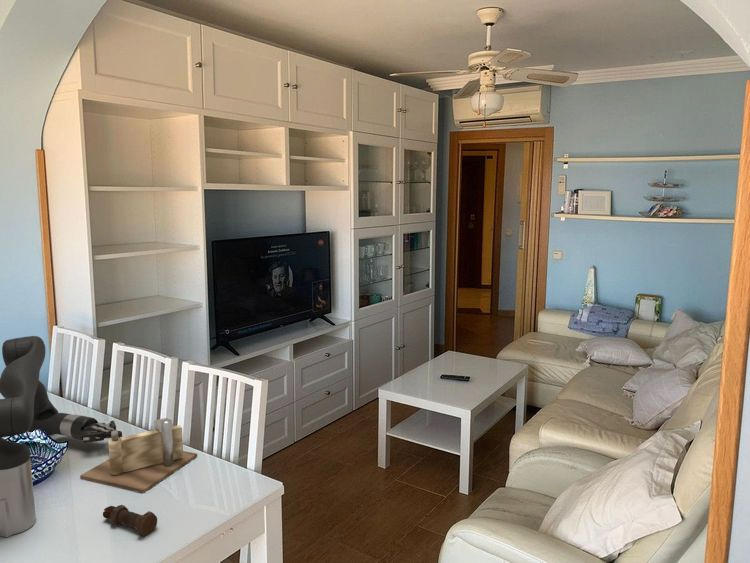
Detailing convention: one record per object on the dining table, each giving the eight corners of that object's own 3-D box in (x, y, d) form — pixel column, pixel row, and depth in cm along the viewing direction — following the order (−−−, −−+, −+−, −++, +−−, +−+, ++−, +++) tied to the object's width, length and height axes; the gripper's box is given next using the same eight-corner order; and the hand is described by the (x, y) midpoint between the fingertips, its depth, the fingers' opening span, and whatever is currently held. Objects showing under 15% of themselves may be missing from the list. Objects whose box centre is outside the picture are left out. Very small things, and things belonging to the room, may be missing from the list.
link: (111, 476, 170) (109, 443, 168) (109, 471, 173) (107, 439, 171) (184, 458, 181) (182, 428, 179) (180, 454, 184) (179, 424, 182)
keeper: (163, 468, 175) (160, 424, 173) (156, 458, 182) (153, 415, 179) (176, 464, 178) (174, 421, 175) (169, 454, 184) (167, 412, 182)
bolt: (110, 523, 152) (153, 537, 145) (95, 523, 148) (138, 537, 141) (118, 500, 154) (160, 512, 147) (103, 499, 149) (145, 512, 143)
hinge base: (143, 493, 163) (140, 446, 161) (80, 478, 171) (76, 433, 168) (197, 456, 185) (195, 414, 183) (139, 444, 193) (136, 404, 191)
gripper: (61, 424, 185) (103, 432, 179) (94, 409, 197) (135, 416, 191) (62, 446, 186) (105, 455, 180) (95, 430, 198) (136, 438, 193)
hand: (120, 435), depth 186 cm, fingers closed
